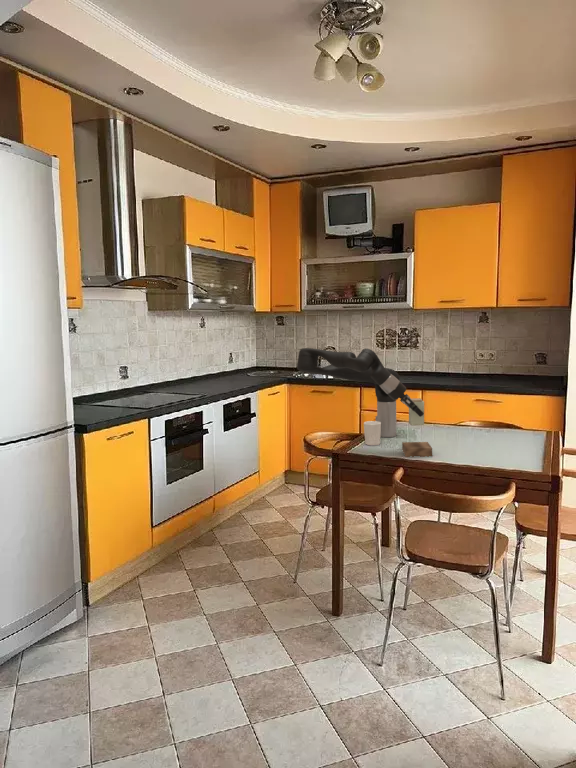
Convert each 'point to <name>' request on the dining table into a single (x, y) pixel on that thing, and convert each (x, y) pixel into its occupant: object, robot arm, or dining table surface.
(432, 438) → the dining table surface
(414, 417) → the canister
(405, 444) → the walnut block
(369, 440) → the white cup
